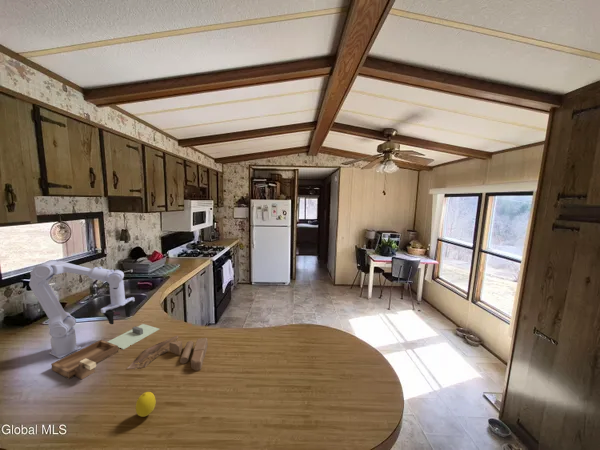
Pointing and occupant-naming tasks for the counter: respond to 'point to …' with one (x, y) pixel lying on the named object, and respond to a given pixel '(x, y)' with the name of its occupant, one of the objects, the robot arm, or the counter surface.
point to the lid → (133, 336)
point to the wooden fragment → (152, 353)
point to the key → (88, 364)
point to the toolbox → (93, 352)
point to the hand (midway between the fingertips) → (120, 319)
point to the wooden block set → (197, 354)
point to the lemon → (145, 404)
